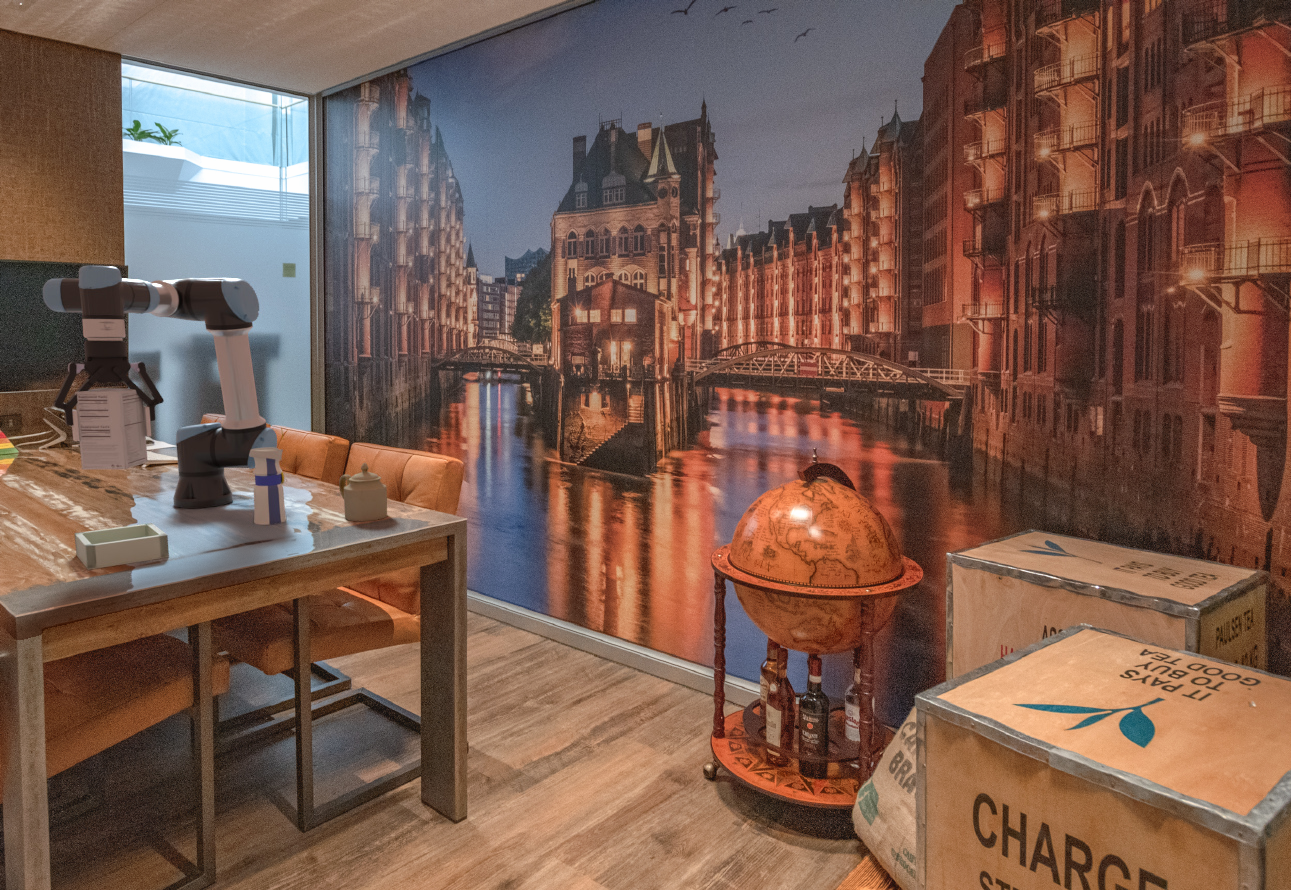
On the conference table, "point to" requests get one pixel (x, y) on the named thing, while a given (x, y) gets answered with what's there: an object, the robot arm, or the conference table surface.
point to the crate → (121, 545)
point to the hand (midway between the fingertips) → (113, 438)
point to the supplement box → (111, 428)
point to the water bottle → (268, 486)
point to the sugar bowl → (363, 496)
